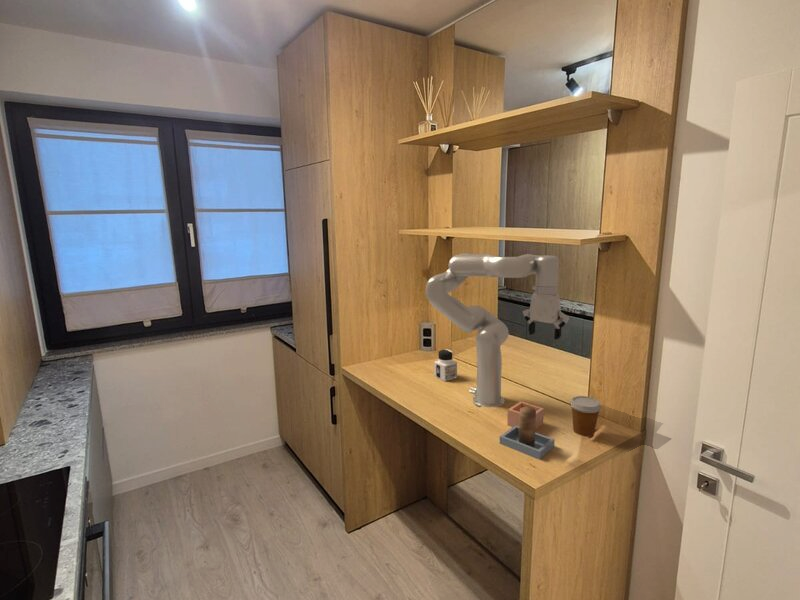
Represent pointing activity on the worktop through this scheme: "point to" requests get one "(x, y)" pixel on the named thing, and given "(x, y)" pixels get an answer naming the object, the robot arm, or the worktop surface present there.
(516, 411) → the terracotta open box
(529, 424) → the peg
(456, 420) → the worktop surface
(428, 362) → the worktop surface
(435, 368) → the container
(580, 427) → the disposable coffee cup
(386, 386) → the worktop surface
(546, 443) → the tray
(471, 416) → the worktop surface
